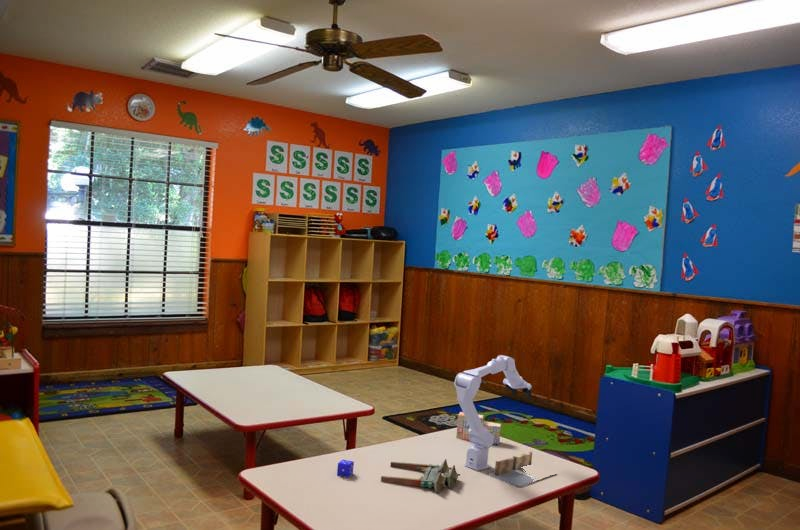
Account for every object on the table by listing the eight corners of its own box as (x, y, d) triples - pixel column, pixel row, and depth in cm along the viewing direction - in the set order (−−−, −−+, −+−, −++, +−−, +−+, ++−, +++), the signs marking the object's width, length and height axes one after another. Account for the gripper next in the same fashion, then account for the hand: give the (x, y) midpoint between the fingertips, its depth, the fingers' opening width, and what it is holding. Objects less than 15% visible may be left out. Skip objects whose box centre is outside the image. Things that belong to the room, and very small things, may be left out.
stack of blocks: (499, 442, 306) (502, 417, 306) (498, 445, 300) (500, 420, 300) (458, 435, 312) (460, 411, 312) (455, 438, 306) (457, 414, 306)
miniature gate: (393, 454, 263) (462, 460, 257) (393, 467, 263) (462, 473, 257) (378, 476, 237) (455, 482, 231) (378, 490, 237) (455, 497, 231)
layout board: (519, 487, 246) (519, 486, 246) (487, 474, 257) (488, 473, 257) (556, 474, 265) (556, 472, 265) (526, 463, 277) (526, 461, 277)
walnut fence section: (496, 475, 255) (498, 462, 255) (493, 474, 257) (495, 461, 257) (516, 469, 265) (517, 457, 265) (513, 468, 266) (514, 456, 266)
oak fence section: (516, 469, 265) (517, 457, 265) (513, 467, 266) (514, 455, 266) (531, 464, 273) (532, 452, 273) (528, 463, 274) (529, 451, 274)
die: (336, 475, 243) (337, 463, 243) (341, 471, 248) (342, 459, 248) (348, 477, 242) (349, 465, 241) (353, 473, 246) (354, 461, 246)
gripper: (530, 372, 275) (540, 392, 281) (504, 367, 286) (514, 386, 292) (522, 383, 272) (533, 403, 278) (496, 378, 282) (507, 397, 289)
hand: (523, 395), depth 285 cm, fingers open, 7 cm apart
